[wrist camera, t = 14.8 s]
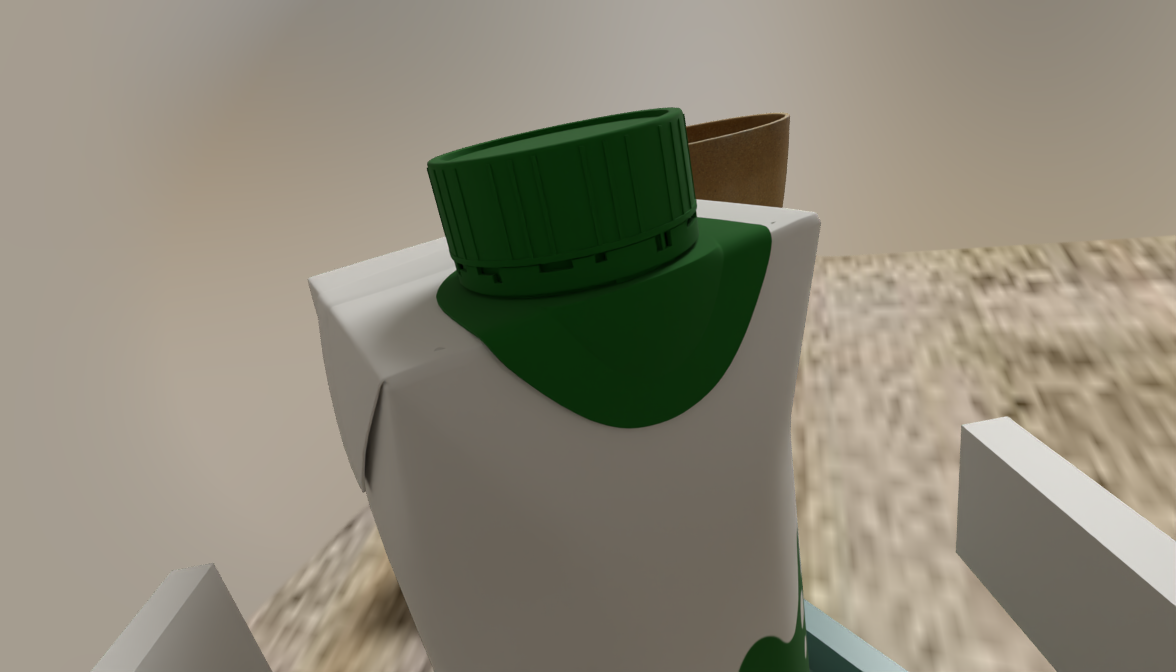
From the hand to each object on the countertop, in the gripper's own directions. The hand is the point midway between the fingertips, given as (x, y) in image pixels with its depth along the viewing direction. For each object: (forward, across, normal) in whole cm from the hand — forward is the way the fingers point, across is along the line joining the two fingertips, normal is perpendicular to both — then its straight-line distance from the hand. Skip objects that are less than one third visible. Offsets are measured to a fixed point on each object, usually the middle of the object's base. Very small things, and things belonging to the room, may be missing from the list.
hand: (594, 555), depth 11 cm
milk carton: (+3, 0, -13) cm, 14 cm away
